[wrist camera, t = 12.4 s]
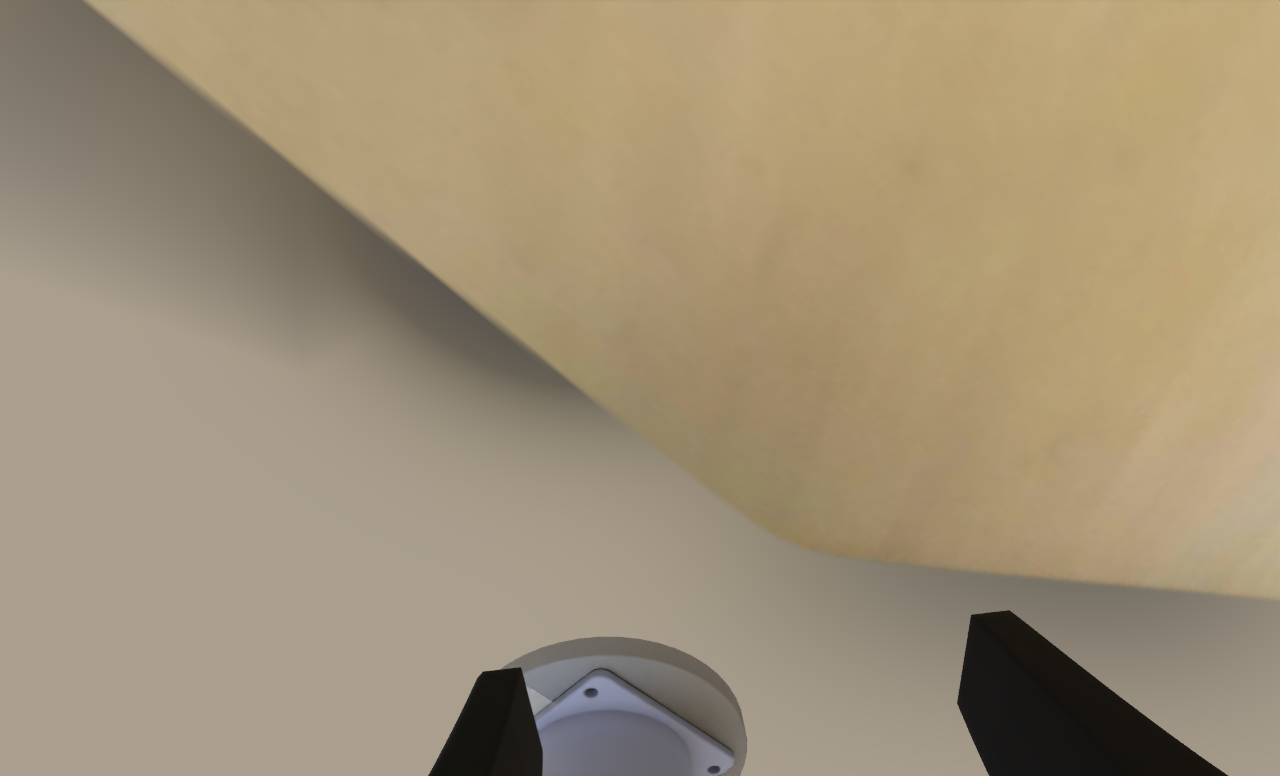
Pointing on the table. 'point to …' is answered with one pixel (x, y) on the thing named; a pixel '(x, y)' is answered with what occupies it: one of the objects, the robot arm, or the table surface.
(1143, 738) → the robot arm
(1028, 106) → the table surface
